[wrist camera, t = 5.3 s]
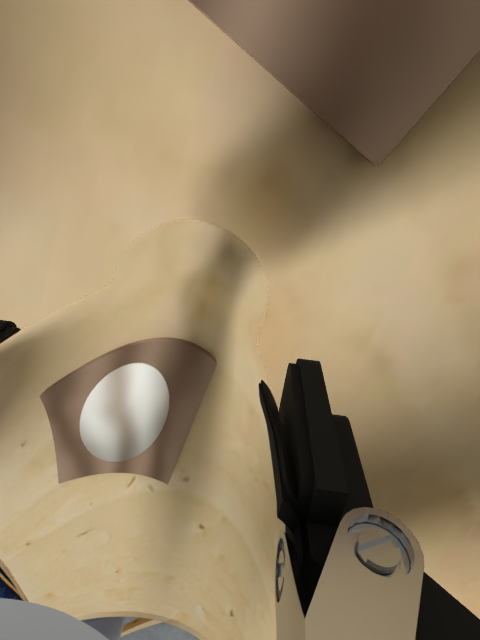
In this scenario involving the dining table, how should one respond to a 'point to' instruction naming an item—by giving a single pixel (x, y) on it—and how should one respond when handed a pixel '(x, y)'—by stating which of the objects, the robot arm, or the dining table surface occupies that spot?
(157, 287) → the silver metal tumbler
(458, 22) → the walnut board
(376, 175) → the dining table surface
